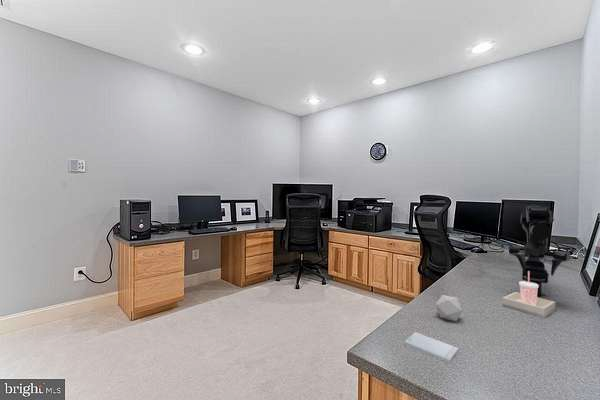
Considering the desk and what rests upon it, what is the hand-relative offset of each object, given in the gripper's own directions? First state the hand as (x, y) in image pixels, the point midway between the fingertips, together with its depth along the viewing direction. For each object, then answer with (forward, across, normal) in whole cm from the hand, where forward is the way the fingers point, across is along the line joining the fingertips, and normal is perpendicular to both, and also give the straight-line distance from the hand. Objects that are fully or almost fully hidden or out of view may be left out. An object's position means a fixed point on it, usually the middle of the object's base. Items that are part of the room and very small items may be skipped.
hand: (537, 272), depth 111 cm
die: (+13, -12, -47) cm, 50 cm away
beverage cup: (+12, 0, -10) cm, 16 cm away
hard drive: (+14, -4, -71) cm, 73 cm away
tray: (+13, 0, -10) cm, 16 cm away
